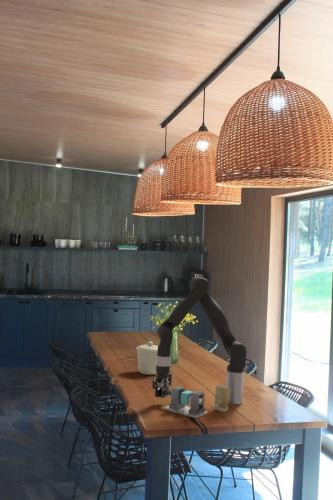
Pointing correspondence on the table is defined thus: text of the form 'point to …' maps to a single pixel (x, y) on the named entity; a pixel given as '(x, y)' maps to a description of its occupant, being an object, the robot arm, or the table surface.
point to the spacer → (185, 397)
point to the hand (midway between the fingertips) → (161, 395)
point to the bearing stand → (177, 407)
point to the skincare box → (221, 398)
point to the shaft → (165, 392)
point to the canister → (147, 358)
